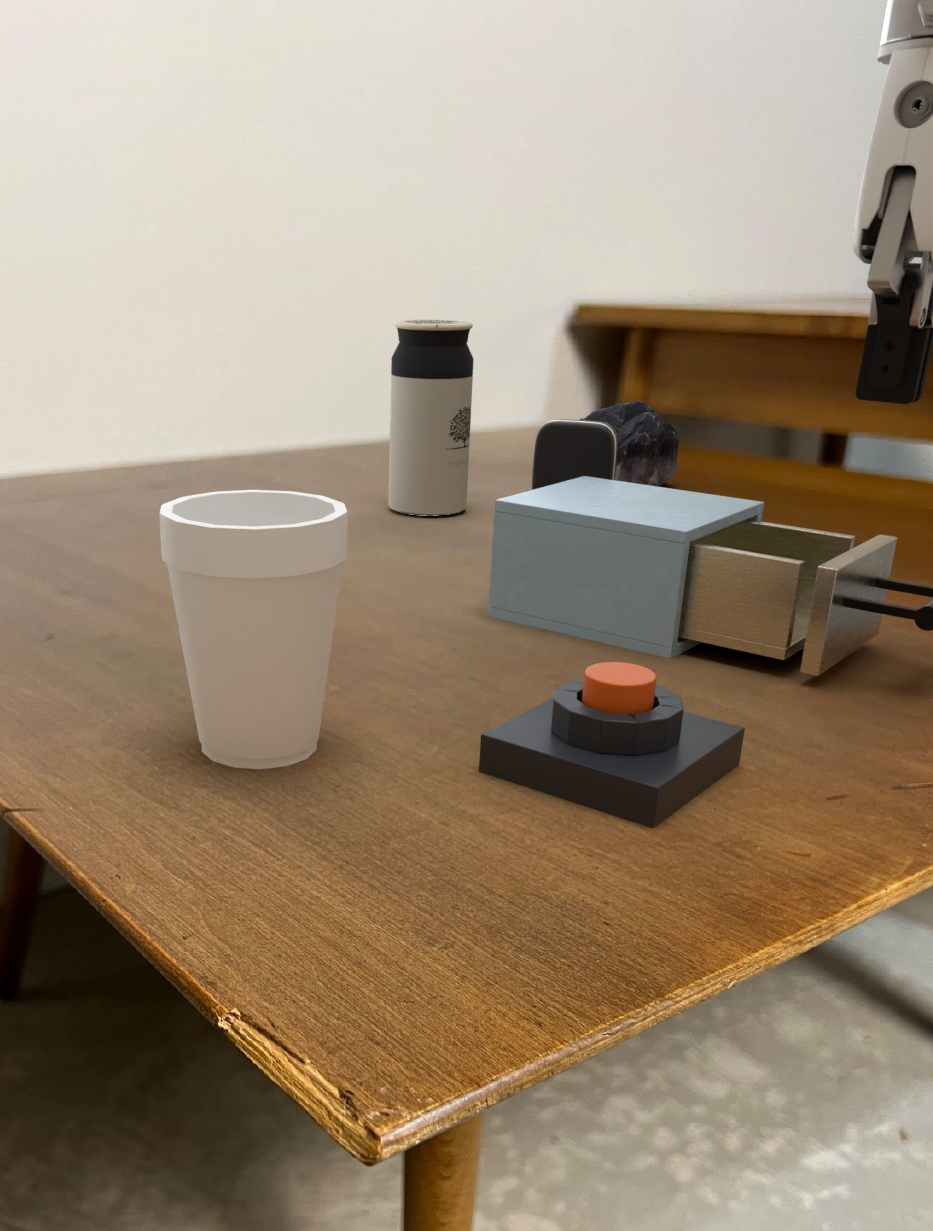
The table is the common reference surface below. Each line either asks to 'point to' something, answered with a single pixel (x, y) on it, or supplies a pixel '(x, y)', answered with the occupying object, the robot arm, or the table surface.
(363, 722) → the table surface
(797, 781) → the table surface
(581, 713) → the control block
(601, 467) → the battery charger
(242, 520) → the foam cup
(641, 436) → the crystal cluster
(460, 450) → the travel mug
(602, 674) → the button
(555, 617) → the light blue drawer box
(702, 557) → the metal drawer
